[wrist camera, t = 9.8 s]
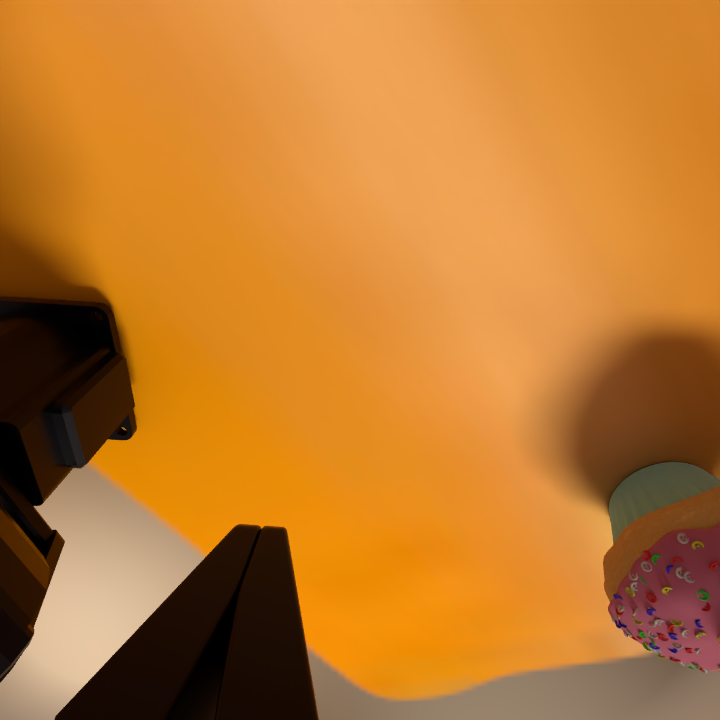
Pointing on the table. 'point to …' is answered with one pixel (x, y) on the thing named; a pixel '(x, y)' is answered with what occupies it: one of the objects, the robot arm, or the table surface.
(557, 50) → the table surface
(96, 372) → the robot arm
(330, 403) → the table surface
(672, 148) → the table surface
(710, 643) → the cupcake
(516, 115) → the table surface
